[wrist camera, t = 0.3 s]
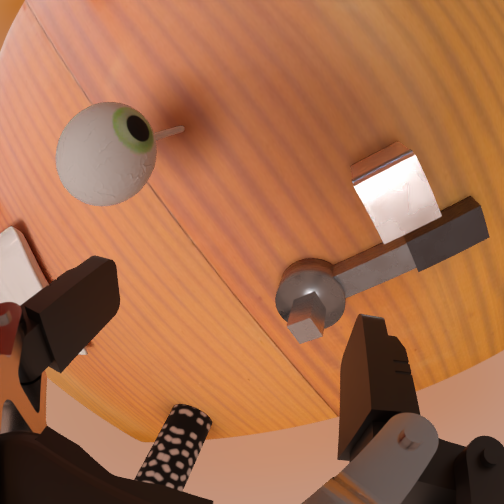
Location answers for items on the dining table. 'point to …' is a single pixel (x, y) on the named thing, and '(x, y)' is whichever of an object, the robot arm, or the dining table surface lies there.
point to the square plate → (19, 270)
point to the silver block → (394, 191)
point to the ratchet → (372, 269)
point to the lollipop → (107, 153)
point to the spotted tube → (176, 448)
